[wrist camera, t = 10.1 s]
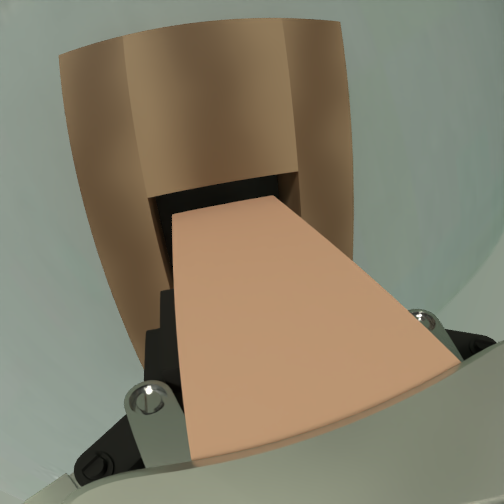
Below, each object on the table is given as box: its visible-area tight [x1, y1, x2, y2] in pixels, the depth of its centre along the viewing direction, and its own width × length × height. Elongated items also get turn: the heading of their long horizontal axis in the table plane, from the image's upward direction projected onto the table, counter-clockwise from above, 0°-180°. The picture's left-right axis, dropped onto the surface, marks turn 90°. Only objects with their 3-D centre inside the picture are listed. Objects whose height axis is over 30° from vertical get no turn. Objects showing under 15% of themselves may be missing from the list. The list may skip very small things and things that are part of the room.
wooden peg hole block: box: [59, 18, 354, 369], centre depth 17 cm, size 13×22×4 cm, turn 7°
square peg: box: [172, 195, 461, 461], centre depth 10 cm, size 5×5×14 cm
